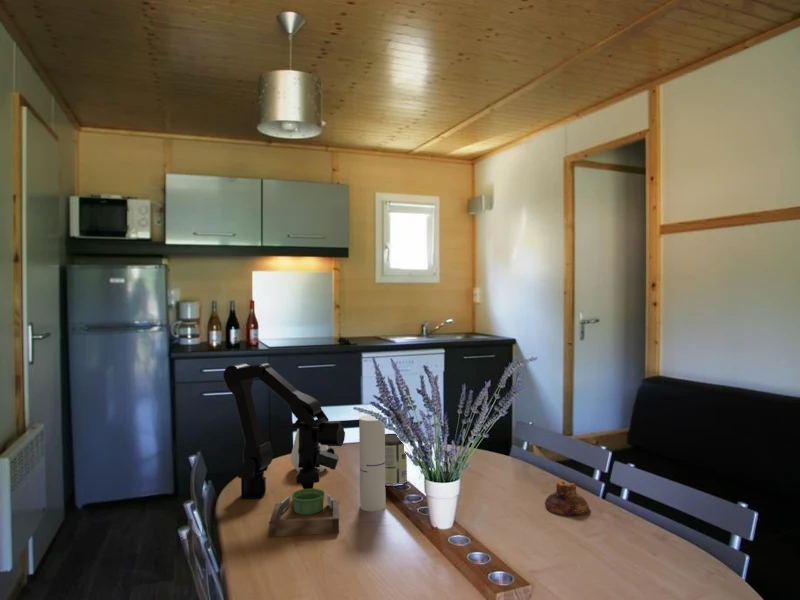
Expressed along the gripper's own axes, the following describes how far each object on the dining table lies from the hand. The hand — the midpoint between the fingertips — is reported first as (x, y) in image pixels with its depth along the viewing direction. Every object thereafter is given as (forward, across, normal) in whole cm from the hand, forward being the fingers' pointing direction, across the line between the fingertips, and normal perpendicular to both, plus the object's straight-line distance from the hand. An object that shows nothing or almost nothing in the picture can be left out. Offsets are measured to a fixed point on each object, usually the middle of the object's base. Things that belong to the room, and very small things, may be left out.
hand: (309, 497), depth 161 cm
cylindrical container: (+1, -7, -18) cm, 19 cm away
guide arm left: (+1, -6, +6) cm, 9 cm away
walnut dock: (+1, -16, 0) cm, 16 cm away
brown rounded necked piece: (+2, -16, -71) cm, 73 cm away
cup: (+2, +29, +1) cm, 29 cm away
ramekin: (+1, -6, 0) cm, 7 cm away
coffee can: (+1, +13, -25) cm, 28 cm away
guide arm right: (+1, -6, -6) cm, 9 cm away
